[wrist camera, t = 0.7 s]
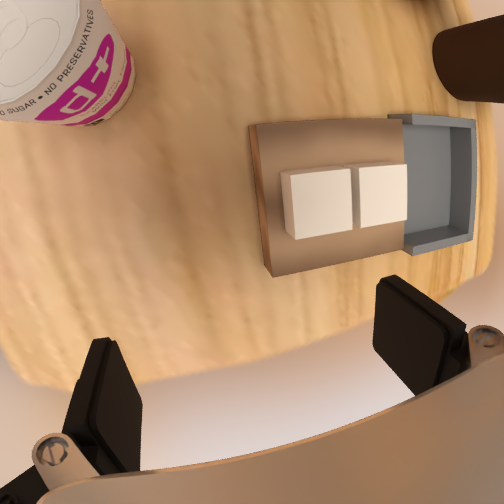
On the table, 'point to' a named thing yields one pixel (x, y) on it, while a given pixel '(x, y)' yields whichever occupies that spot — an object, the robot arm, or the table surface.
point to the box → (439, 181)
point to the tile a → (317, 201)
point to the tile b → (378, 193)
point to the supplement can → (61, 63)
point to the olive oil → (472, 60)
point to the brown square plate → (313, 156)
